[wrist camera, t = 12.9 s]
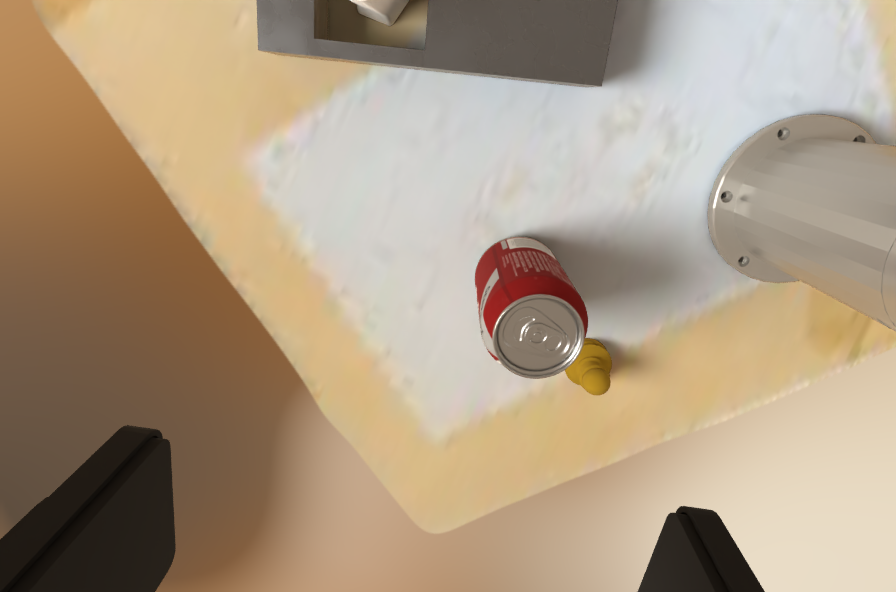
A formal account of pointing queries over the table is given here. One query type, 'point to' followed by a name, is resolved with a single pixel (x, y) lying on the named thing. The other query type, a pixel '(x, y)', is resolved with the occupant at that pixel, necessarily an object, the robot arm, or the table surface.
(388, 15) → the perfume bottle
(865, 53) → the table surface
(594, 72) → the grey block with hole
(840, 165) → the robot arm
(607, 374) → the chess piece
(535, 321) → the soda can
